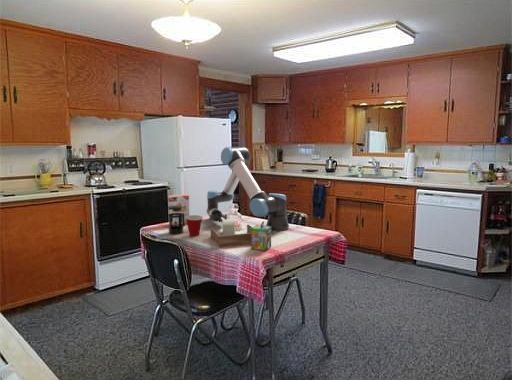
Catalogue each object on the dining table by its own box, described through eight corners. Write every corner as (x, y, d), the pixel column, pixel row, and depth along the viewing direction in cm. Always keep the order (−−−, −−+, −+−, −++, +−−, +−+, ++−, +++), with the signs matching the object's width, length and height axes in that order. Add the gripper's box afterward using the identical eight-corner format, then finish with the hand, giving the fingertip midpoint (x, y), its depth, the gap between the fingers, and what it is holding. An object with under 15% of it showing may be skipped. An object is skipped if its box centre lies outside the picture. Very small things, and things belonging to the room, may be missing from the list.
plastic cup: (196, 238, 219) (195, 219, 217) (182, 236, 224) (181, 217, 222) (207, 234, 228) (206, 215, 226) (193, 232, 233) (192, 214, 232)
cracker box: (169, 226, 251) (168, 196, 249) (169, 224, 257) (168, 195, 254) (190, 225, 255) (189, 195, 252) (189, 223, 260) (188, 194, 258)
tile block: (222, 232, 235) (222, 219, 234) (233, 231, 236) (233, 219, 235) (223, 237, 221) (222, 224, 220) (234, 237, 222) (234, 224, 221)
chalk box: (255, 244, 205) (255, 219, 203) (271, 246, 202) (271, 219, 200) (250, 249, 196) (250, 222, 194) (267, 251, 193) (267, 223, 191)
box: (210, 237, 221) (210, 227, 220) (248, 233, 229) (248, 224, 228) (219, 247, 201) (219, 236, 200) (260, 242, 209) (260, 232, 208)
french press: (173, 235, 227) (172, 198, 224) (164, 233, 233) (163, 197, 230) (188, 231, 236) (187, 196, 232) (179, 229, 242) (178, 195, 238)
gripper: (224, 219, 262) (233, 226, 240) (206, 220, 258) (214, 227, 236) (224, 208, 261) (233, 215, 239) (206, 210, 257) (214, 216, 235)
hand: (224, 221), depth 237 cm, fingers closed
